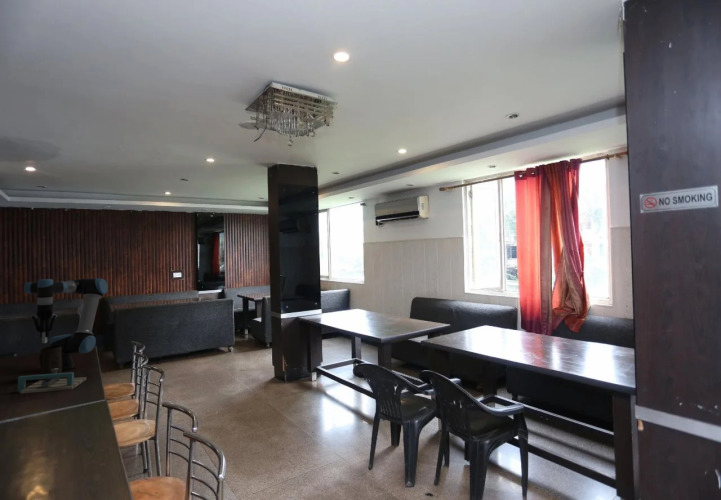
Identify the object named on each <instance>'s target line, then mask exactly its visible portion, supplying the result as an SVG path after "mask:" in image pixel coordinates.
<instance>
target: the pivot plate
mask: <svg viewBox="0 0 721 500" xmlns="http://www.w3.org/2000/svg"><path fill="white" fill-rule="evenodd" d="M57 370H58V368H54V369H51V371H53V374H55V373H57ZM86 380H87V377H86V376H85V377H74V384H73V385H70V386H67V378H59V381H57V382H55V383H53V384H52V385H50V386H49V387H43V388H42V382H43V381H45V380H38V381H36V382H35V383H32V384H31V385H29V386H26V387H25V389H23V390H21V392H19V393H20V394H21V395H22V394H31V393H43V392H54V391H69V390H73V389H75V388H76V387H77V386H79V385H81V384H82V383H83V382H85V381H86Z"/></svg>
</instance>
